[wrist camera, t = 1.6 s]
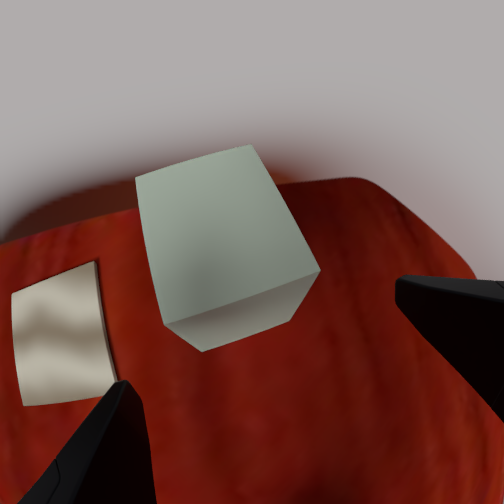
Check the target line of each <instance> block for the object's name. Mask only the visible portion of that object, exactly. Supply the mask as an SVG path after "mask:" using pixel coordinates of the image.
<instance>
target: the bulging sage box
mask: <svg viewBox="0 0 504 504" xmlns="http://www.w3.org/2000/svg"><path fill="white" fill-rule="evenodd" d="M135 179H136V188H137V195H138V202H139V209H140V216H141V222H142V228H143V234H144V239H145V245H146V250H147V255H148V260H149V265H150V270H151V274H152V279H153V283H154V287H155V292H156V296H157V300H158V304H159V308H160V312H161V316H162V319H163V323H164V325H165V326H166V327H168V328H169V329H170V330H172V331H173V332H174V333H176V334H177V335H178V336H180V337H181V338H183V339H184V340H185V341H187V342H188V343H190V344H191V345H193V346H194V347H195V348H197V349H198V350H200V351H201V352H203V351H206V350H209V349H212V348H215V347H219V346H222V345H225V344H227V343H230V342H233V341H236V340H239V339H242V338H245V337H248V336H250V335H253V334H256V333H259V332H261V331H264V330H267V329H269V328H272V327H275V326H277V325H280V324H282V323H285V322H288V321H290V319H291V318H292V316H293V314H294V313H295V311H296V310H297V308H298V307H299V305H300V303H301V302H302V300H303V299H304V297H305V295H306V294H307V292H308V291H309V289H310V287H311V286H312V284H313V282H314V281H315V279H316V277H317V276H318V274H319V272H320V271H321V270H320V268H319V266H318V264H317V262H316V260H315V258H314V256H313V254H312V252H311V250H310V248H309V246H308V245H307V243H306V241H305V239H304V237H303V235H302V233H301V231H300V229H299V227H298V226H297V224H296V222H295V220H294V218H293V216H292V214H291V213H290V211H289V209H288V207H287V205H286V203H285V202H284V200H283V198H282V196H281V194H280V193H279V191H278V189H277V187H276V186H275V184H274V182H273V180H272V178H271V177H270V175H269V173H268V171H267V170H266V168H265V166H264V165H263V163H262V161H261V160H260V158H259V156H258V154H257V153H256V151H255V149H254V148H253V146H252V144H249V145H245V146H241V147H237V148H232V149H228V150H225V151H220V152H217V153H213V154H209V155H205V156H202V157H198V158H195V159H191V160H188V161H185V162H181V163H178V164H175V165H172V166H169V167H165V168H162V169H159V170H156V171H153V172H150V173H147V174H144V175H141V176H139V177H136V178H135Z"/></svg>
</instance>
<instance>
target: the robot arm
mask: <svg viewBox="0 0 504 504" xmlns="http://www.w3.org/2000/svg"><path fill="white" fill-rule="evenodd" d="M395 302H396V305H397V307H398V308H399V309H400V310H401V311H402V312H403V314H404V315H405V316H406V317H407V318H408V319H409V321H410V322H411V323H412V324H413V325H414V327H415V328H416V329H417V330H418V331H419V332H420V334H421V335H422V336H423V337H424V338H425V339H426V340H427V341H428V342H429V343H430V344H431V345H432V346H433V347H434V348H435V349H436V350H437V351H438V352H439V353H440V354H441V355H442V356H443V357H444V358H445V359H446V360H447V361H448V362H449V363H450V364H451V365H452V366H453V367H454V368H455V369H456V370H457V371H458V372H459V373H460V374H461V375H462V377H463V378H464V379H465V380H466V381H467V382H468V383H469V384H470V385H471V386H472V387H473V388H474V389H475V391H476V392H477V393H478V394H479V395H480V396H481V397H482V398H483V399H484V400H485V402H486V403H487V404H488V405H489V406H490V407H491V409H492V410H493V411H494V412H495V413H496V414H497V416H498V417H499V418H500V419H501V420H502V422H503V423H504V281H491V280H476V279H461V278H446V277H432V276H418V275H403V276H402V277H400V278H398V279H397V280H396V282H395ZM17 504H157V501H156V495H155V488H154V480H153V471H152V462H151V451H150V443H149V438H148V432H147V427H146V421H145V415H144V409H143V403H142V400H141V398H140V396H139V395H138V394H137V392H136V391H135V390H134V388H133V387H132V385H131V384H130V383H129V381H127V380H121V381H117V382H114V383H113V385H112V386H111V387H110V388H109V390H108V391H107V392H106V393H105V395H104V396H103V397H102V398H101V400H100V401H99V402H98V403H97V405H96V406H95V407H94V408H93V410H92V411H91V412H90V413H89V415H88V416H87V417H86V419H85V420H84V421H83V422H82V424H81V425H80V426H79V428H78V429H77V430H76V431H75V433H74V434H73V435H72V437H71V438H70V439H69V440H68V442H67V443H66V444H65V446H64V447H63V448H62V450H61V451H60V452H59V454H58V455H57V456H56V459H54V460H53V461H52V463H51V464H50V466H49V467H48V468H47V469H46V471H45V472H44V473H43V475H42V476H41V477H40V478H39V479H38V481H37V482H36V483H35V484H34V485H33V486H32V488H31V489H30V490H29V491H28V492H27V493H26V494H25V495H24V496H23V498H22V499H21V500H20V501H19V502H18V503H17Z"/></svg>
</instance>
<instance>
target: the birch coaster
mask: <svg viewBox="0 0 504 504" xmlns="http://www.w3.org/2000/svg"><path fill="white" fill-rule="evenodd" d="M12 329H13V343H14V353H15V361H16V369H17V375H18V381H19V387H20V392H21V397H22V401H23V406H33V405H43V404H52V403H60V402H67V401H74V400H81V399H87V398H93V397H98V396H104V395H105V393H106V392H107V391H108V390H109V388H110V387H111V386H112V385H113V383H114V382H117V381H118V380H117V376H116V373H115V369H114V365H113V361H112V356H111V352H110V348H109V343H108V338H107V333H106V328H105V323H104V317H103V311H102V304H101V298H100V290H99V282H98V273H97V264H96V263H95V262H94V261H93V262H90V263H87V264H85V265H82V266H79V267H77V268H74V269H72V270H69V271H66V272H64V273H61V274H59V275H56V276H54V277H51V278H49V279H46V280H44V281H42V282H39V283H37V284H34V285H32V286H30V287H27V288H25V289H22V290H20V291H18V292H15V293H13V294H12Z"/></svg>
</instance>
